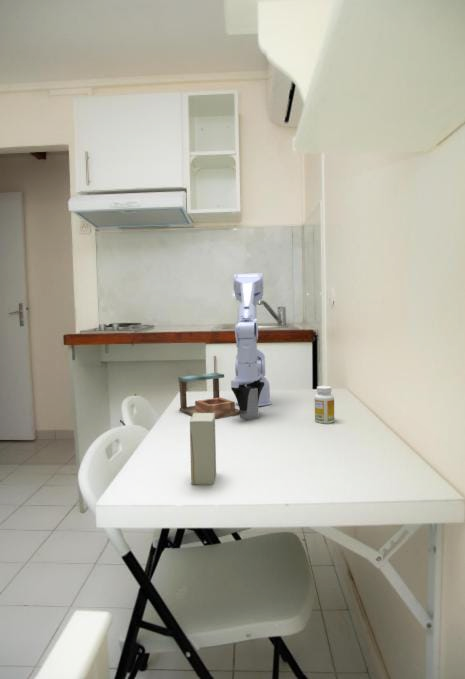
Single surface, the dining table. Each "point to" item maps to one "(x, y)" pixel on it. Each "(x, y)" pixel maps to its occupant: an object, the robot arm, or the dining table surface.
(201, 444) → the skincare box
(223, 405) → the socket station
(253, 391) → the steel peg
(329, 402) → the supplement bottle
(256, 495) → the dining table surface
